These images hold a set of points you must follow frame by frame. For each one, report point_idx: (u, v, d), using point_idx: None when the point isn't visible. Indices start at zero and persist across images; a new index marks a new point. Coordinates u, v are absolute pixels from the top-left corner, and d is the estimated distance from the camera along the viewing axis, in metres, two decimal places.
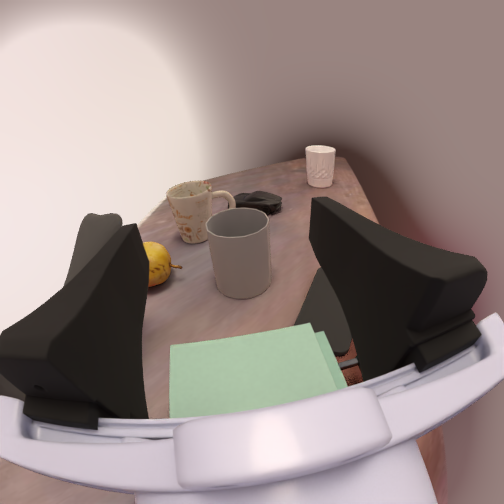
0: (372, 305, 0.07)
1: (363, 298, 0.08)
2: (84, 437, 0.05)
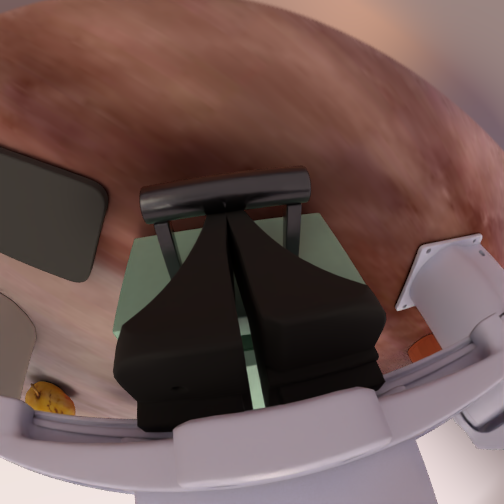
0: (254, 331, 0.07)
1: (251, 321, 0.08)
2: (84, 437, 0.05)
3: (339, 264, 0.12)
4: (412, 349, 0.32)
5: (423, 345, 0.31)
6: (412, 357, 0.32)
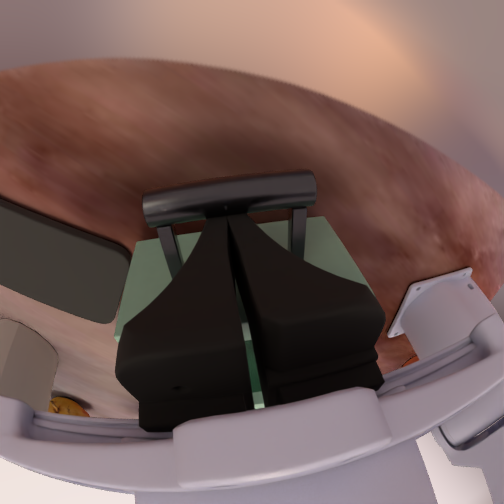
0: (253, 331, 0.07)
1: (250, 321, 0.08)
2: (84, 437, 0.05)
3: (344, 268, 0.12)
4: None
5: None
6: None
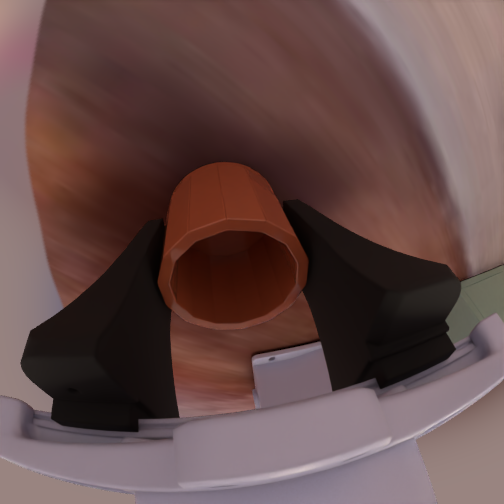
0: (336, 314, 0.07)
1: (328, 306, 0.08)
2: (84, 437, 0.05)
3: None
4: None
5: None
6: None
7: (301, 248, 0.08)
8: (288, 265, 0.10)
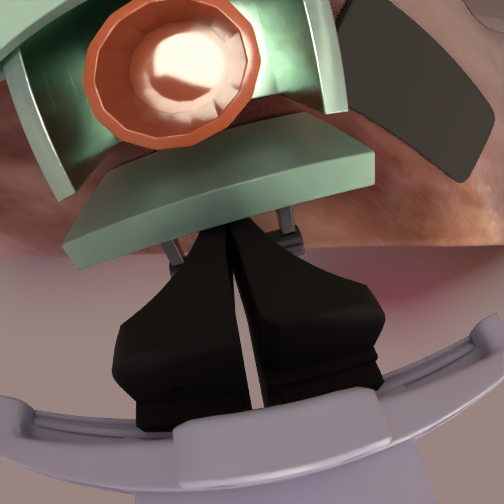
0: (253, 331, 0.07)
1: (250, 321, 0.08)
2: (84, 437, 0.05)
3: None
4: None
5: None
6: None
7: (238, 11, 0.05)
8: (241, 60, 0.07)
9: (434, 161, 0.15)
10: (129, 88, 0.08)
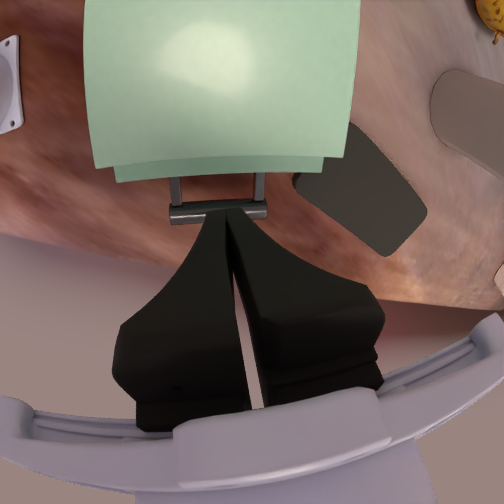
0: (253, 331, 0.07)
1: (250, 321, 0.08)
2: (84, 437, 0.05)
3: None
4: None
5: None
6: None
7: None
8: None
9: (364, 240, 0.26)
10: None
